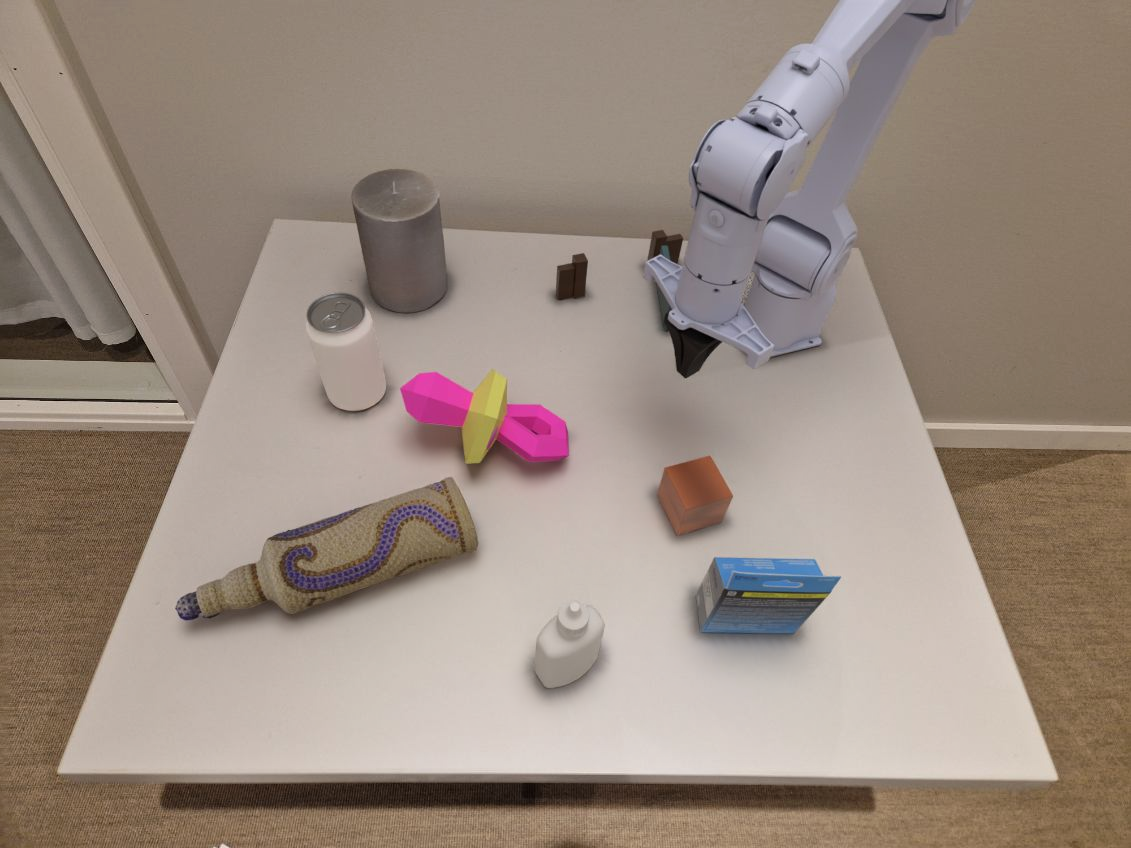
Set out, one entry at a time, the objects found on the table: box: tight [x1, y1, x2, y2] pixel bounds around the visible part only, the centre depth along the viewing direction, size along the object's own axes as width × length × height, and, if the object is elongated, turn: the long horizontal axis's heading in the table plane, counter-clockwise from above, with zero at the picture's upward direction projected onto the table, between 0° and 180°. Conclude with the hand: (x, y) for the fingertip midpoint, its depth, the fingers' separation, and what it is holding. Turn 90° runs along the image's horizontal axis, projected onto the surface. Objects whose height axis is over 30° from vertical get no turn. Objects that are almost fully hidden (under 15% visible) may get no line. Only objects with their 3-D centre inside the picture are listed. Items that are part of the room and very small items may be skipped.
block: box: [656, 455, 734, 536], centre depth 72 cm, size 5×5×5 cm
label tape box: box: [695, 556, 842, 634], centre depth 62 cm, size 9×4×12 cm, turn 90°
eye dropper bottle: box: [534, 599, 606, 689], centre depth 59 cm, size 4×6×12 cm
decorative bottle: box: [174, 476, 479, 622], centre depth 65 cm, size 26×8×7 cm, turn 113°
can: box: [305, 291, 387, 412], centre depth 76 cm, size 6×6×12 cm
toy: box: [399, 368, 570, 465], centre depth 74 cm, size 10×18×10 cm, turn 82°
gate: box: [555, 229, 684, 301], centre depth 92 cm, size 2×17×6 cm, turn 117°
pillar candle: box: [351, 168, 448, 314], centre depth 85 cm, size 10×10×15 cm
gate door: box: [655, 246, 672, 330], centre depth 89 cm, size 2×10×5 cm, turn 2°
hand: (688, 370), depth 72 cm, fingers closed
